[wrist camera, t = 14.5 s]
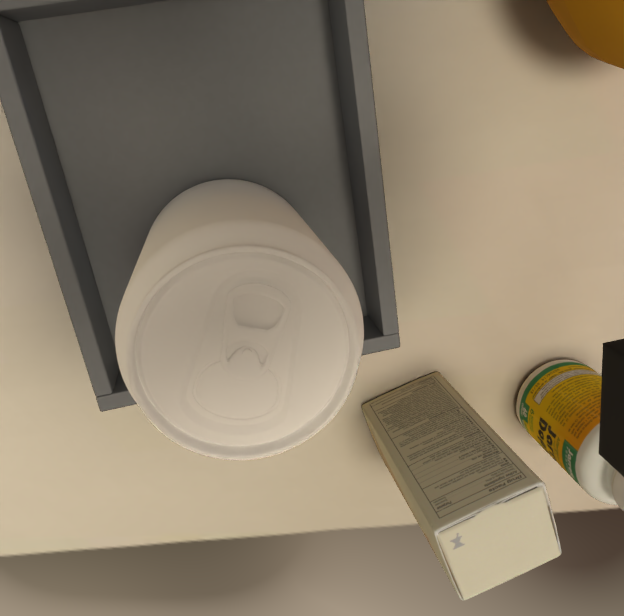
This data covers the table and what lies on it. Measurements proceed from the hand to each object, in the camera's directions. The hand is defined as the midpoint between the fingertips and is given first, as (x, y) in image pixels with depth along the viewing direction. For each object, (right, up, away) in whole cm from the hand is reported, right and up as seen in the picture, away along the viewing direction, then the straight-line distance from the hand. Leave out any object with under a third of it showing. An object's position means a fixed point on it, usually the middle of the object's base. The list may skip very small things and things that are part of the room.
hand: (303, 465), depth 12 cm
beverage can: (-4, +6, +17) cm, 19 cm away
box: (+6, -3, +23) cm, 24 cm away
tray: (-4, +9, +17) cm, 19 cm away
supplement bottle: (+15, -2, +24) cm, 29 cm away
